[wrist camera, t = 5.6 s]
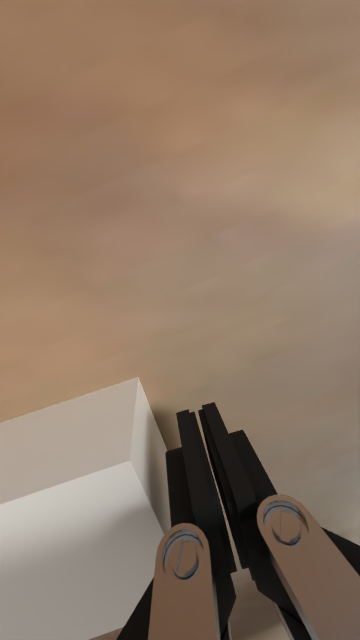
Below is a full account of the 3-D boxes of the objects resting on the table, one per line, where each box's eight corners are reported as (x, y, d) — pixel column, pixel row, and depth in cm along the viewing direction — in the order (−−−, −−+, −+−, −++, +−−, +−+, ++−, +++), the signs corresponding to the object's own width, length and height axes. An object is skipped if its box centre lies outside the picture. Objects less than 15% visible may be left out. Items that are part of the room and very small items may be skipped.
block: (138, 375, 12) (129, 460, 7) (179, 478, 14) (195, 600, 9) (-64, 441, 11) (-224, 580, 6) (8, 537, 13) (-72, 698, 8)
